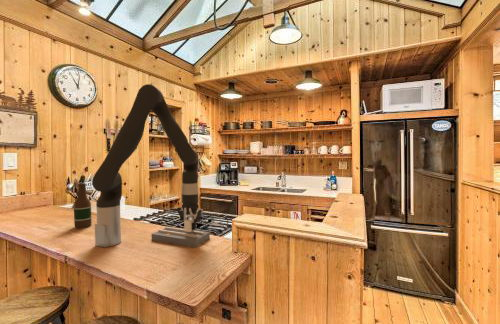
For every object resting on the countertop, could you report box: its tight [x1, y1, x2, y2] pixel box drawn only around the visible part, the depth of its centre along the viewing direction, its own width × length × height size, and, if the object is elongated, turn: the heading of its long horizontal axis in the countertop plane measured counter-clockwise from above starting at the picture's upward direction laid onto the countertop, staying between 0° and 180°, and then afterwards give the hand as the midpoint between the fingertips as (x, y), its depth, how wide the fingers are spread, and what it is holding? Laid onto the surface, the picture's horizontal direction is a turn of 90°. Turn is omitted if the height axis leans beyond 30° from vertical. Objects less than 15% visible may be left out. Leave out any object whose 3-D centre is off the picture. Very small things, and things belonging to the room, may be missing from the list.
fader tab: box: [183, 217, 194, 234], centre depth 113 cm, size 5×3×7 cm, turn 159°
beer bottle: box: [73, 182, 92, 230], centre depth 134 cm, size 8×8×24 cm
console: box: [151, 226, 211, 249], centre depth 115 cm, size 12×24×4 cm, turn 69°
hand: (190, 229), depth 113 cm, fingers closed on fader tab, 3 cm apart
